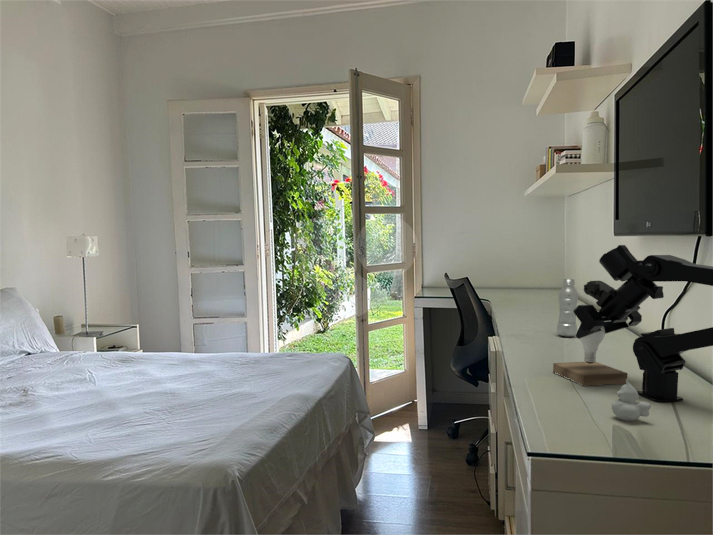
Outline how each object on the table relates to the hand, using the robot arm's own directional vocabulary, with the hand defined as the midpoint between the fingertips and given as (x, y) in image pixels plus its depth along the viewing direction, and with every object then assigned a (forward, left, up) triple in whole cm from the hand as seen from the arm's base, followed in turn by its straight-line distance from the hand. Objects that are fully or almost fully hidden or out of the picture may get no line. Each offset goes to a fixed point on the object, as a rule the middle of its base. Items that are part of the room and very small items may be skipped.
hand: (586, 335), depth 132 cm
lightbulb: (-1, 0, -7) cm, 7 cm away
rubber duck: (-29, +12, -11) cm, 33 cm away
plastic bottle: (+48, -28, -11) cm, 57 cm away
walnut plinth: (-1, 0, -10) cm, 10 cm away
